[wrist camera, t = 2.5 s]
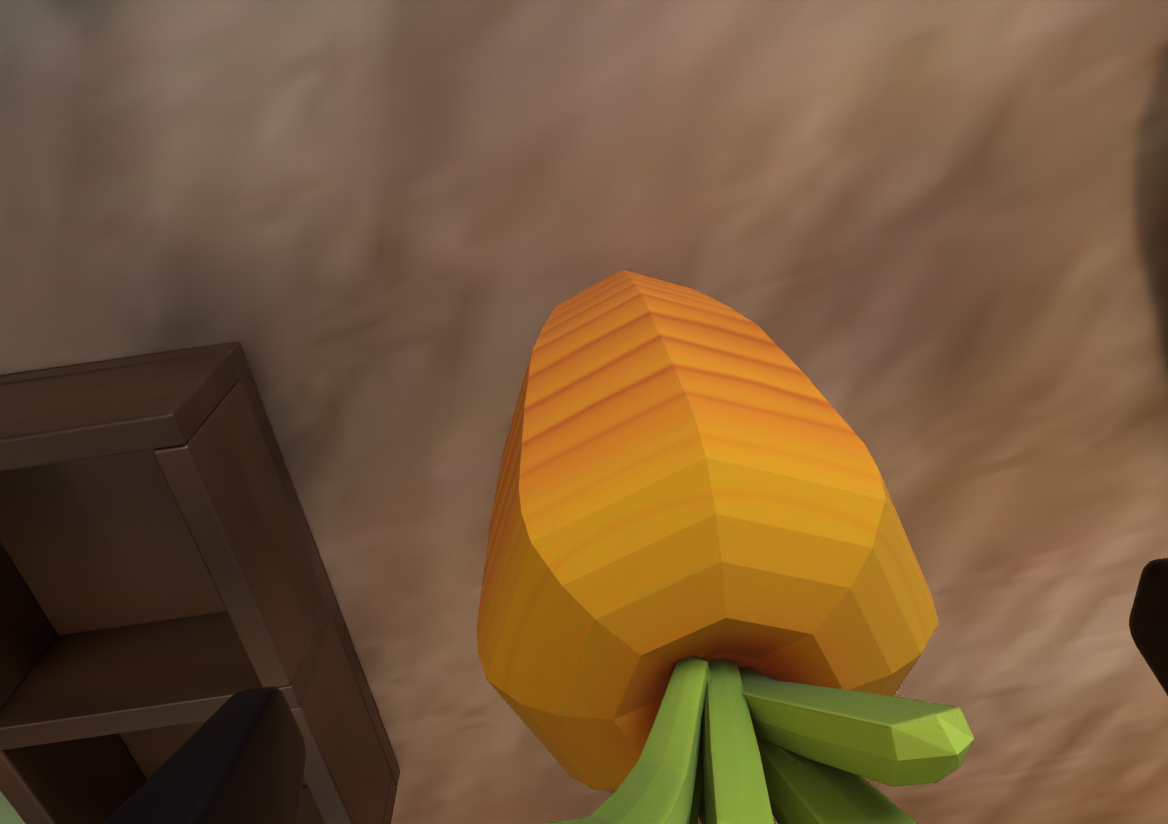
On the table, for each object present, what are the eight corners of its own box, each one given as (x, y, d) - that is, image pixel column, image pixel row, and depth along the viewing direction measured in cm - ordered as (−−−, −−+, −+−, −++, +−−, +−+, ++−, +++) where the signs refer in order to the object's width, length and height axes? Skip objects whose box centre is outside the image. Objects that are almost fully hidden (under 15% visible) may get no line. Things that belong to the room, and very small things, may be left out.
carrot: (521, 413, 18) (490, 1453, 5) (488, 207, 16) (263, 1120, 3) (724, 388, 18) (1230, 1359, 5) (719, 179, 16) (1630, 948, 3)
